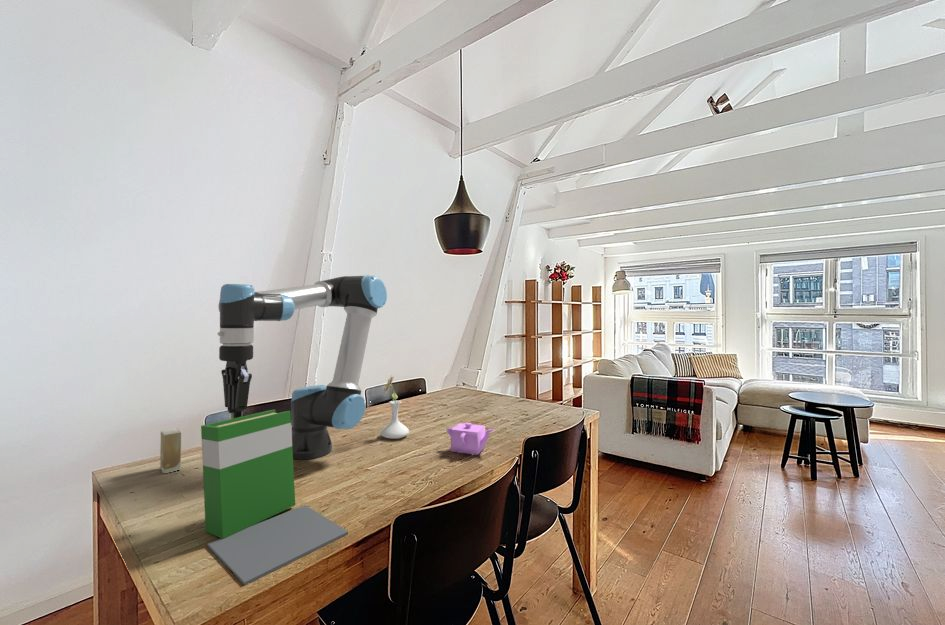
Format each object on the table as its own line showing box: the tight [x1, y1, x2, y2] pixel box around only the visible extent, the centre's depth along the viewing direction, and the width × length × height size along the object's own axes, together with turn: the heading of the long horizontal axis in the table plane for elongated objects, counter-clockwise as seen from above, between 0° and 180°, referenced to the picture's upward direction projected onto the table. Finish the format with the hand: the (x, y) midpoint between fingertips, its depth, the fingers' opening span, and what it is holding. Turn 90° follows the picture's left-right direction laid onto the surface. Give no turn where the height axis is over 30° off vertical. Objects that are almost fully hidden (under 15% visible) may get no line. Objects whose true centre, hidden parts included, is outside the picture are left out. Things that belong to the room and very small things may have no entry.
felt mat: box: [206, 504, 349, 586], centre depth 89 cm, size 19×22×1 cm
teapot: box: [446, 422, 495, 456], centre depth 144 cm, size 18×14×10 cm
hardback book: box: [200, 409, 296, 539], centre depth 98 cm, size 18×7×24 cm, turn 149°
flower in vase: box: [379, 375, 410, 440], centre depth 159 cm, size 13×11×25 cm
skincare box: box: [159, 427, 182, 474], centre depth 125 cm, size 6×4×12 cm
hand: (235, 436), depth 103 cm, fingers closed
